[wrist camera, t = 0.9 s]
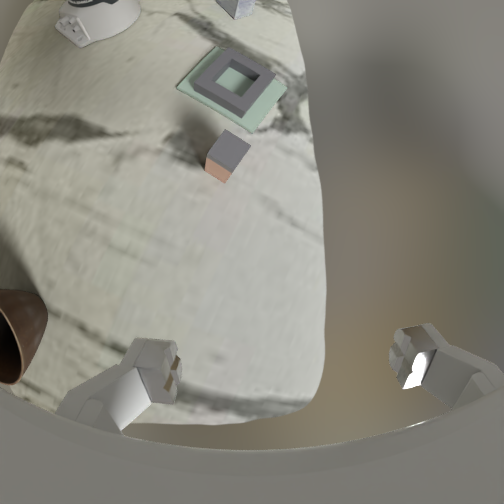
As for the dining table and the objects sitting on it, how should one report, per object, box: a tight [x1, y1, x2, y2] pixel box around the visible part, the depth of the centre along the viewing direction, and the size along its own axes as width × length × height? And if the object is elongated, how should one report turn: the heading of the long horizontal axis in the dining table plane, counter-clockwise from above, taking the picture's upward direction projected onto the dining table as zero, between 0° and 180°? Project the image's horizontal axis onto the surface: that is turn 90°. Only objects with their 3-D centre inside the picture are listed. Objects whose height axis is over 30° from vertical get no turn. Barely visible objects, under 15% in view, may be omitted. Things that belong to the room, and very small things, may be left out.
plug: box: [204, 129, 251, 183], centre depth 38 cm, size 4×4×11 cm
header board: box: [177, 46, 288, 134], centre depth 40 cm, size 16×12×4 cm
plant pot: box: [0, 289, 48, 385], centre depth 30 cm, size 15×15×16 cm
